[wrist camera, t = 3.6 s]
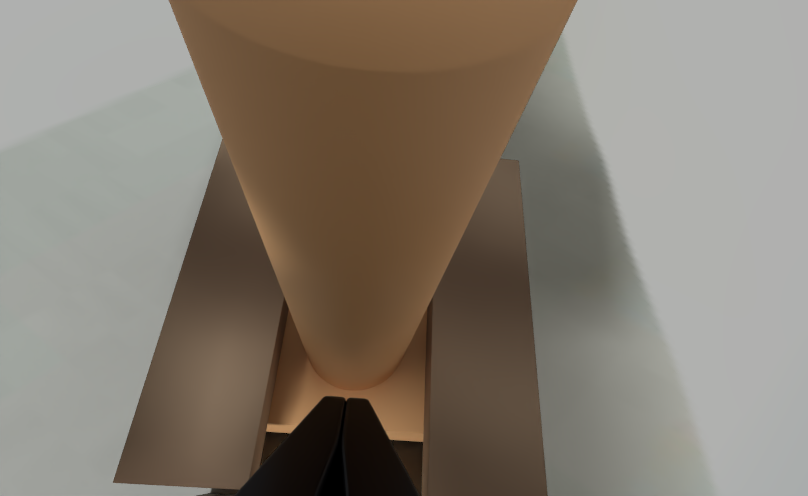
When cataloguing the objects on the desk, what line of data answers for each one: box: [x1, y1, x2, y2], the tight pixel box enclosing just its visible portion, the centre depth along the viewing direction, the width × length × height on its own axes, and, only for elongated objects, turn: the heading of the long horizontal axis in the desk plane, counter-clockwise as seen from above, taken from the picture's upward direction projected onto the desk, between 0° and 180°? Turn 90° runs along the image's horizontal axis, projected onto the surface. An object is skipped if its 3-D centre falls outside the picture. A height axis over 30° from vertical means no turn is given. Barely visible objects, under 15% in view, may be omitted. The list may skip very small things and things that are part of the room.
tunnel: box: [113, 139, 547, 496], centre depth 15 cm, size 24×10×6 cm, turn 177°
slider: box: [169, 0, 577, 442], centre depth 10 cm, size 5×6×15 cm
